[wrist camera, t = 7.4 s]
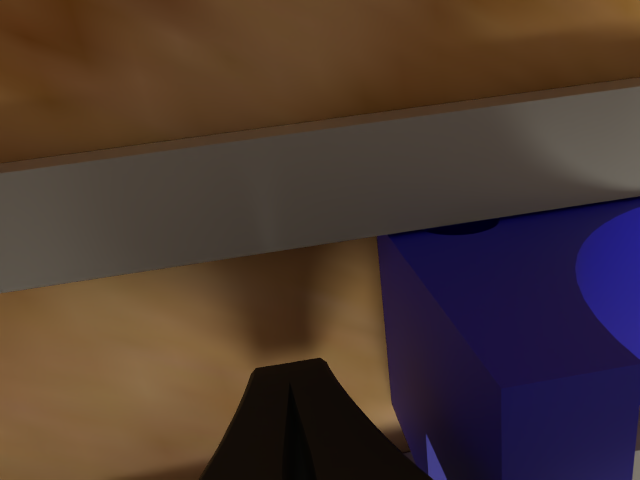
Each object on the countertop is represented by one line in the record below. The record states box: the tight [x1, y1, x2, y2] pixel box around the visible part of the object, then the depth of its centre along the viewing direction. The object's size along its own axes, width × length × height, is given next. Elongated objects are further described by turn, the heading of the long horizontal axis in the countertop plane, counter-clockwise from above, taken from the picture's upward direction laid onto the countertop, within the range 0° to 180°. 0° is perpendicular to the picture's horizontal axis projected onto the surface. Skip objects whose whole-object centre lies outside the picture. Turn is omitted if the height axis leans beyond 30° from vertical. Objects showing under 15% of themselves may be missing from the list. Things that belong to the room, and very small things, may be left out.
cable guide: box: [0, 77, 640, 480], centre depth 10 cm, size 10×27×4 cm, turn 97°
